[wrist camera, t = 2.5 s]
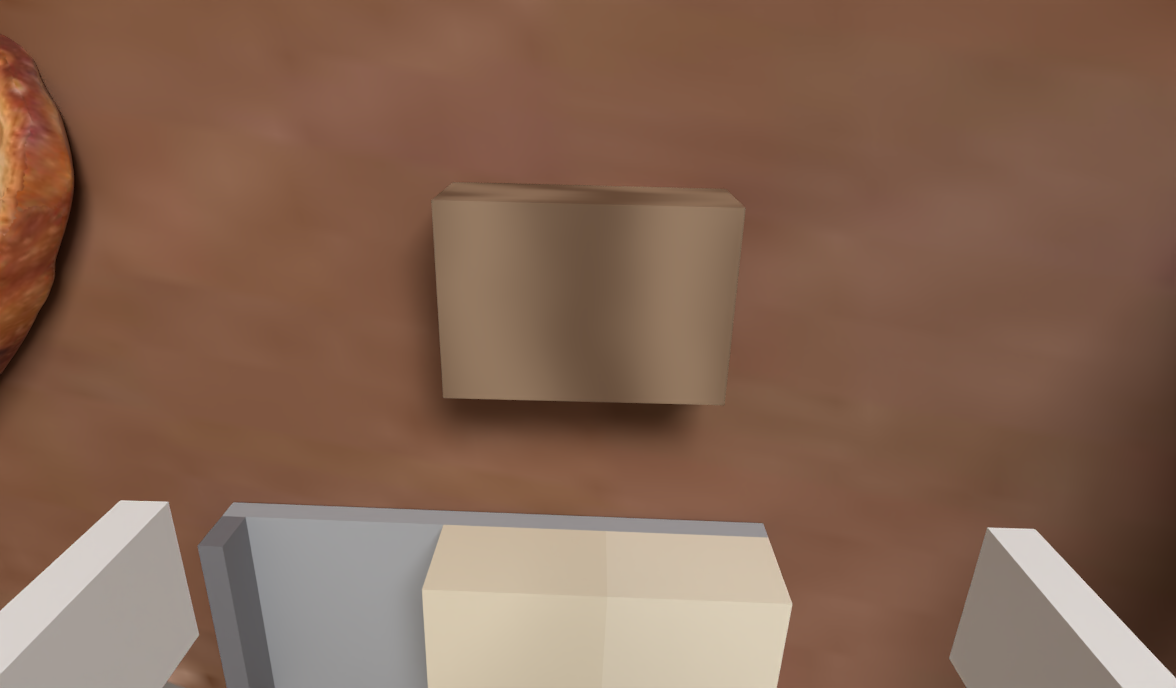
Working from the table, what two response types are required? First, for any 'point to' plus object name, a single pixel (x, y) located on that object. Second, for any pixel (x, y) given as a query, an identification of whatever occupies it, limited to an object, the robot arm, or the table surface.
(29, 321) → the bread slice
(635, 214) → the tan brown block
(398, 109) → the table surface
